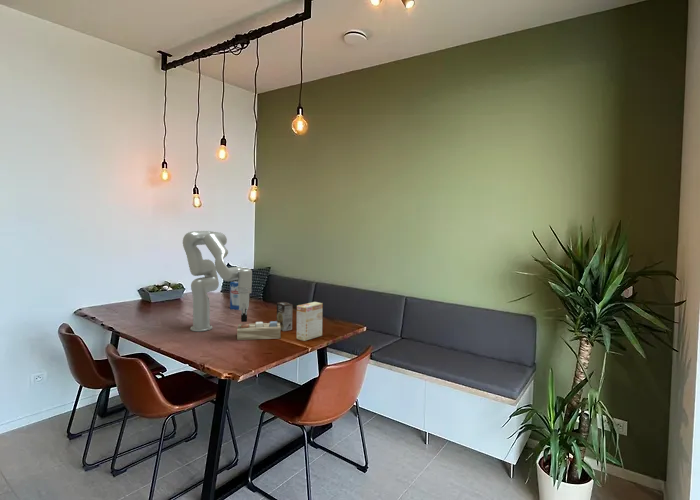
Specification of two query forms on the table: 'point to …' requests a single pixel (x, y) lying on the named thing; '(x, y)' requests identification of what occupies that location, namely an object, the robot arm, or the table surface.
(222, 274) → the robot arm
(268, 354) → the table surface
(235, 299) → the milk carton
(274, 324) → the slate-blue key
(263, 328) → the key console
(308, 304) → the coffeecake box
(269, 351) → the table surface
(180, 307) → the table surface
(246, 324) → the terracotta key
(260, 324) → the white key
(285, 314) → the coffee box
